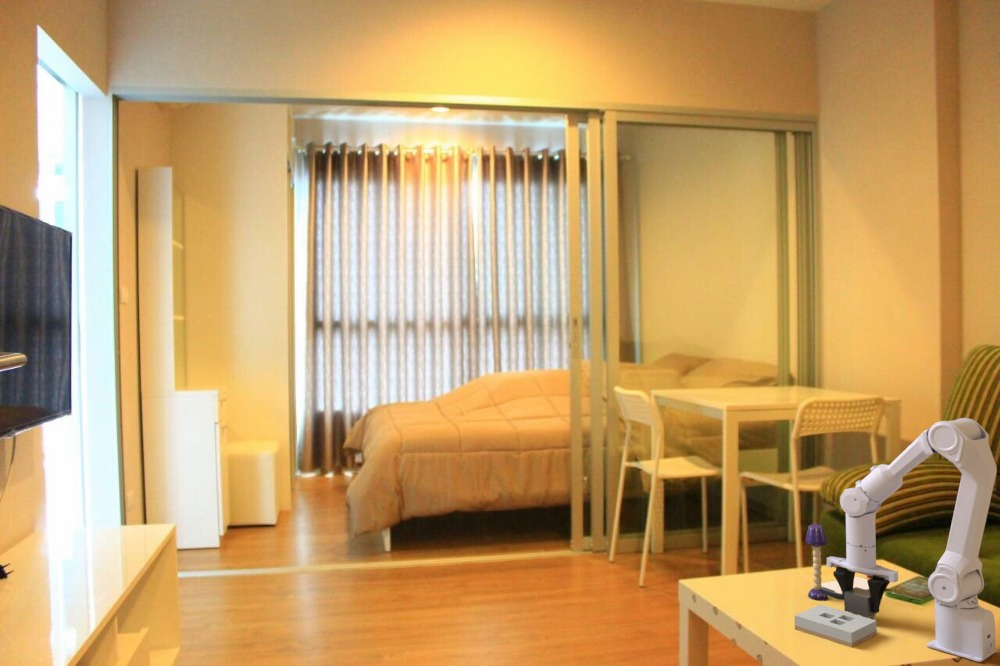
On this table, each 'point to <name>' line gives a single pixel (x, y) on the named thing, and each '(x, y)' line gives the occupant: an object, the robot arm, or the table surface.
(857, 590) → the plug
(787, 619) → the table surface
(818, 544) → the toy lamp
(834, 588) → the phone case
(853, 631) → the socket
